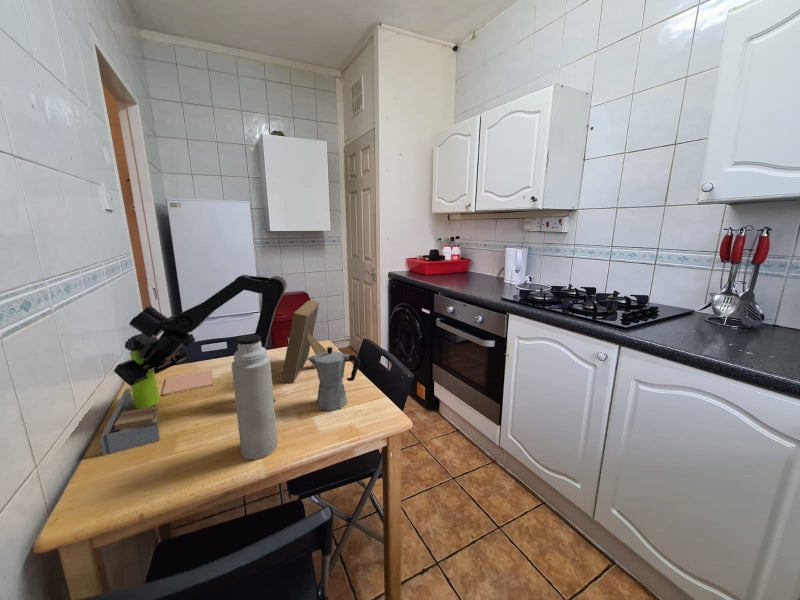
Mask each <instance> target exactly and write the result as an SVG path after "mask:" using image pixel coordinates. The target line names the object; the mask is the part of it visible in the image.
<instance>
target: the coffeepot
mask: <svg viewBox="0 0 800 600" xmlns="http://www.w3.org/2000/svg"><path fill="white" fill-rule="evenodd" d="M326 350H327V351H328V352H325V353H321V354H319V355H316V354H314V355H312V356H310V357H309V356H308V360H307V361H310V364H312V365H313V367H314V368H315V369H316V372H317V377H318V380H319V384H318V390H317V399H316V403H317V407H318V409H320V410H321V411H326V412H332V411H339V410H340V409H342V408H343V407H345V406H346V405H347V403H348V398H347V394H346V390H345V386H344V382H343V379H344V377H345V366H346V363H347V362H354V363H353V365H352V370H351V373H350V377H347V378H346V380H347V381H348V382H353V381H355V378H356V375H357V372H358V370H359V366H360V363H361V360H360V359H359V357H357V356H356V354H345V353H344V352H340V351H333V347H331V346H327V348H326Z"/></svg>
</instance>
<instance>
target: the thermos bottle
mask: <svg viewBox="0 0 800 600" xmlns="http://www.w3.org/2000/svg"><path fill="white" fill-rule="evenodd" d="M260 340H261V336H259V335H255V334H247V335H242V336H240V337H238V338H236V344H237V350H236V351H235V352H234V353H233V356H234V357H233V360H234V361H232V362H231V373H232V379H233V380H232V381H233V388H234V389H233V390H234V400H235V408H236V409H235V410H236V417H237V426H238V435H239V436H238V437H239V443H240V444H239V445H240V453H241V456H242V457H243V459H246V460H249V459H255V460H259V458H261V459H263V457H264V458H266V457H268V456H270V455H271V454H273V453H272V452H273V451H274V450H275V451H276V449H277V448H278V436H277V434H278V433H277V424H276V423H277V422H276V411H275V410H276V409H275V402H274V399H275V397H274V388H273V377H272V374H271V369H272V366H271V358H270V357H269V356H268V355H267V354H268V351H267V349H266V347H265V348H263V347H262V345H261V341H260ZM273 397H274V398H273ZM275 451H274V452H275ZM265 456H266V457H265Z"/></svg>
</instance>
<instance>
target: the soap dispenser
mask: <svg viewBox="0 0 800 600" xmlns="http://www.w3.org/2000/svg"><path fill="white" fill-rule="evenodd" d="M129 355H130V360H135V361H136V362H137V363H138V364H139V365H140V364H143V363H144V362H143V360H144V359H145V358H141V357H140V356H139V355H140V352H138V351H136V350H135V351H130V352H129ZM147 377H148V378H147V379H145V380H143V381H141V382H139V383H136V384H134V385H132V386H130V389H131V394H132V400H133V403H134V407H135V408H136V409H141V408H146V407H152V406H156V405H158V403H159V402H160V401H161V400H160V394H159V389H158V383H157V379H156V374H155V372H154V368H153V369H151V370H149V371H148V373H147Z"/></svg>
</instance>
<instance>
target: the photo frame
mask: <svg viewBox="0 0 800 600" xmlns="http://www.w3.org/2000/svg"><path fill="white" fill-rule="evenodd" d="M319 305H320V302H316V301H313V300H307V301H306V302H305V303H303V304H302V305H301V306H300V307H299V308H298V309H297V310H296V311H295V312H293V317H292V322H291V328H290V332H289V338H288V342H287V347H286V353H285V356H284V357H285V358H284V363H283V369H282V372H281V378H280V381H282V382H286V383H287V382H288V383H292V384H293V383H295V381H296V380H297V378H298V376H299V374H300V373H301V372H302V369H303V368H304V366H305V364H306V363H307V361H309V360H308V358H309V355H310V354H309V353H310V349H312V350H313V352H314V355H319V354H321V353H325V352H328V351H327V348H325V347H324V346H323V345H322V344H321V343H320V342H319V341H318V340H317V339H316V338H315V337H314V336H313V335H314V330H315V325H316V322H317V315H318V311H319Z"/></svg>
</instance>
